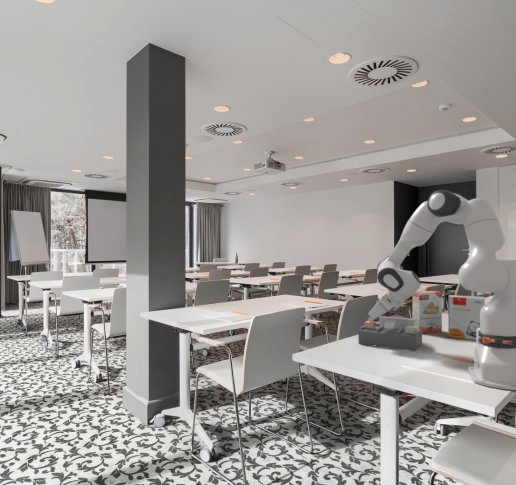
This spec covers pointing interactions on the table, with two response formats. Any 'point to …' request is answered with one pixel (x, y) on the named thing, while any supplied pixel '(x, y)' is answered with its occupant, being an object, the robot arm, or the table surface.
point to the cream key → (390, 324)
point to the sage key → (411, 329)
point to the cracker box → (427, 311)
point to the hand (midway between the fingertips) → (369, 320)
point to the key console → (391, 335)
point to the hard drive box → (464, 316)
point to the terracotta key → (370, 324)
